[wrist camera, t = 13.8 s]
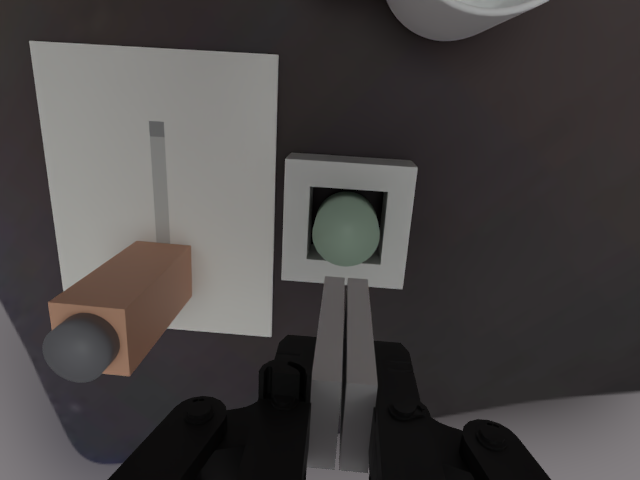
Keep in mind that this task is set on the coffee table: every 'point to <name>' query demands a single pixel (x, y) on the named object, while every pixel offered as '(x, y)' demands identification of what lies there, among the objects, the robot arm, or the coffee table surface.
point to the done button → (346, 229)
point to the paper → (166, 167)
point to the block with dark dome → (118, 311)
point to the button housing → (357, 175)
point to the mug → (456, 16)
